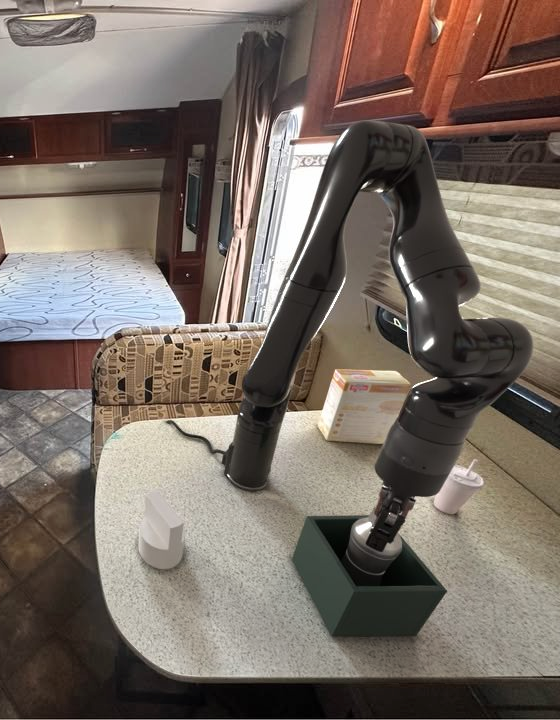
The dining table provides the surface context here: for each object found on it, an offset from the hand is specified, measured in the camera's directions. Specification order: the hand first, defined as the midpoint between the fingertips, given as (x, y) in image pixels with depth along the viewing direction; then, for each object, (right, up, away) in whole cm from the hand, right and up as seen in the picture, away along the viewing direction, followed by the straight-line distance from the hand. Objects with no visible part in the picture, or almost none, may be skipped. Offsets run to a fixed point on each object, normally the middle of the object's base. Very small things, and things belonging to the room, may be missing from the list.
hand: (377, 533), depth 59 cm
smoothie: (+34, -5, +23) cm, 41 cm away
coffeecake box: (+29, +6, +46) cm, 54 cm away
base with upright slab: (-31, -11, +17) cm, 37 cm away
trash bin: (+1, -15, +7) cm, 16 cm away
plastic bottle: (+1, -14, +7) cm, 16 cm away
